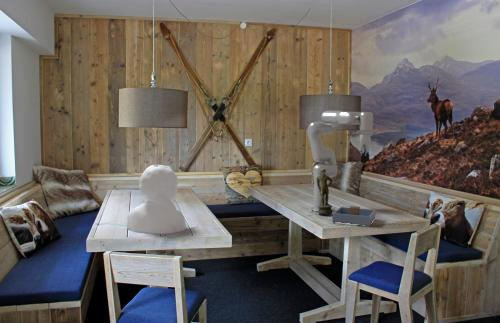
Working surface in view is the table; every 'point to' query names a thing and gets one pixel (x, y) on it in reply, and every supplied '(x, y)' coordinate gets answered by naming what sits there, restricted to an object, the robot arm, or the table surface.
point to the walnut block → (354, 210)
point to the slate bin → (354, 216)
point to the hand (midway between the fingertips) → (364, 161)
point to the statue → (324, 192)
